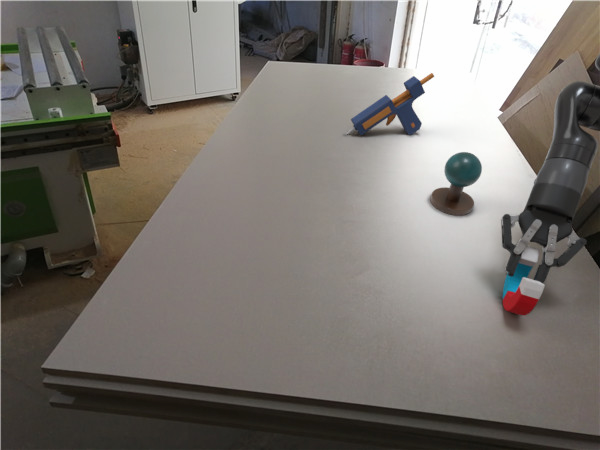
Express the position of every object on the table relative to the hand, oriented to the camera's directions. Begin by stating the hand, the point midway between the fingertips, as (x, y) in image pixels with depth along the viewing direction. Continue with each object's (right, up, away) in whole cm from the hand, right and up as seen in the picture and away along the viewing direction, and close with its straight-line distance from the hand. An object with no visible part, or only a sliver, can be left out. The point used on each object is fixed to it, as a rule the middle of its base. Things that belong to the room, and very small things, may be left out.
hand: (522, 280), depth 70 cm
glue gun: (-12, +39, +59) cm, 71 cm away
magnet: (0, -5, +4) cm, 6 cm away
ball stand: (-2, +15, +29) cm, 33 cm away
